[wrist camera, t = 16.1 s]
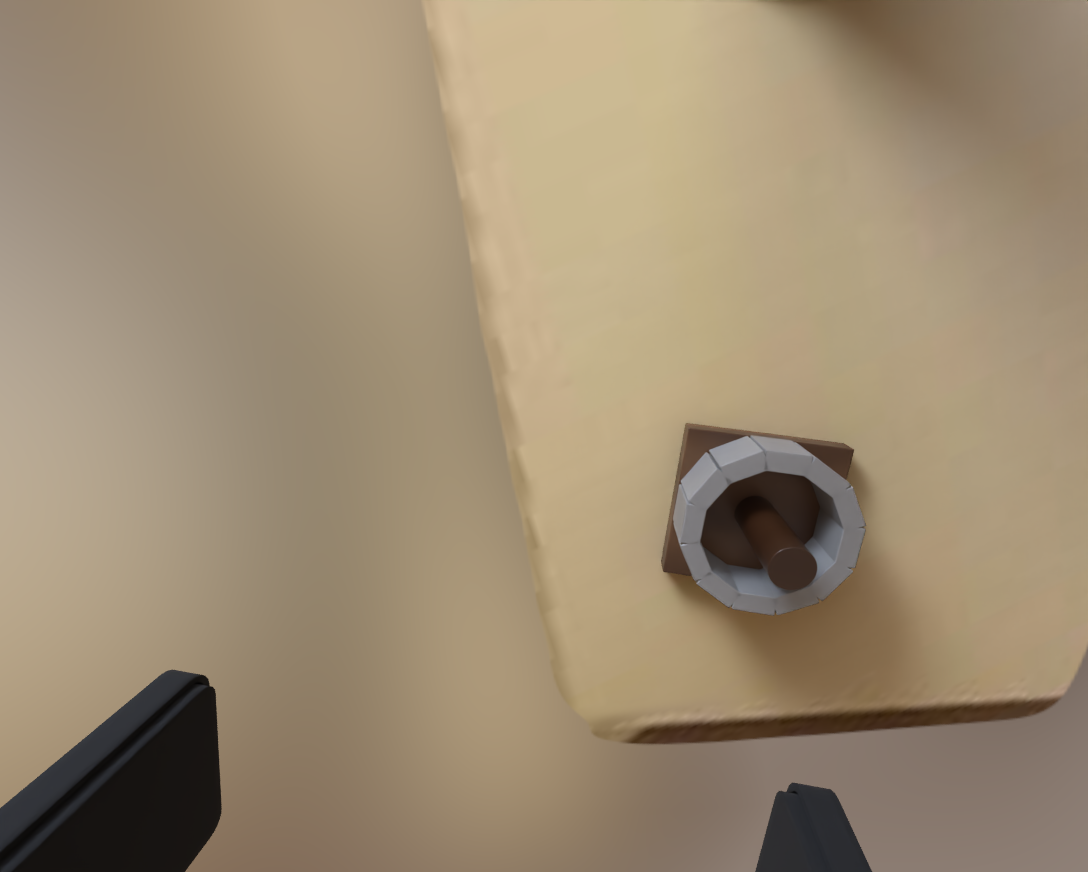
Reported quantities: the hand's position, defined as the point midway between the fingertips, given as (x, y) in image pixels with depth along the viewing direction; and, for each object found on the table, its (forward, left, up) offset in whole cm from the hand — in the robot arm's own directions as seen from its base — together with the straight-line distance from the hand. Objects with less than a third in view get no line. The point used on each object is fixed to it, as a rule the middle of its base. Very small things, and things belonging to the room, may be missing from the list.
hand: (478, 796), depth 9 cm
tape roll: (+4, +12, -27) cm, 30 cm away
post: (+4, +12, -28) cm, 31 cm away
